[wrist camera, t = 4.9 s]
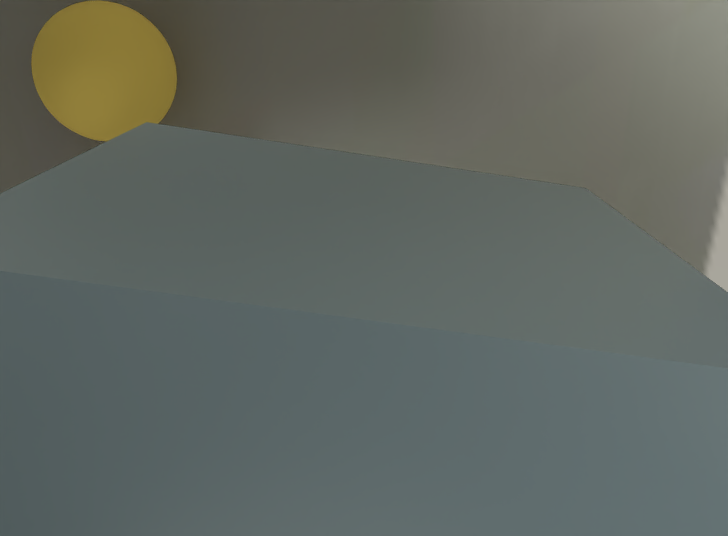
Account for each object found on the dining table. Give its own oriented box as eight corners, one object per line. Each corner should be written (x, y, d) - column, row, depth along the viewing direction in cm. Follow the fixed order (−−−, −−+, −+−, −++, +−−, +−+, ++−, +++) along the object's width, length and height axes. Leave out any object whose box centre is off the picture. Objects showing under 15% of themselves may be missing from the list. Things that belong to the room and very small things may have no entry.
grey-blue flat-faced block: (134, 487, 18) (-49, 874, 10) (146, 121, 15) (-125, 253, 6) (490, 528, 19) (593, 923, 11) (585, 188, 15) (853, 384, 7)
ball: (67, 121, 27) (6, 140, 22) (66, -7, 25) (0, -15, 21) (187, 139, 27) (151, 162, 23) (194, 13, 26) (157, 10, 21)
